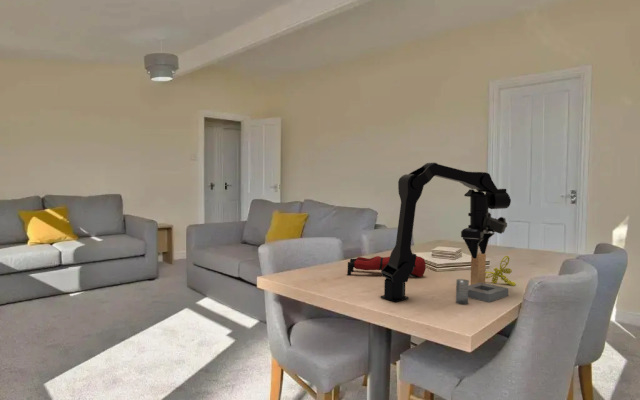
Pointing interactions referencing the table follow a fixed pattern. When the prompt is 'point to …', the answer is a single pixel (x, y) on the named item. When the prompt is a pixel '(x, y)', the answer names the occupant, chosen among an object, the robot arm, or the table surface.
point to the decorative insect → (501, 273)
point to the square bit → (478, 268)
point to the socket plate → (486, 292)
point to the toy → (383, 265)
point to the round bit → (462, 291)
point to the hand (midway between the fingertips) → (479, 255)
